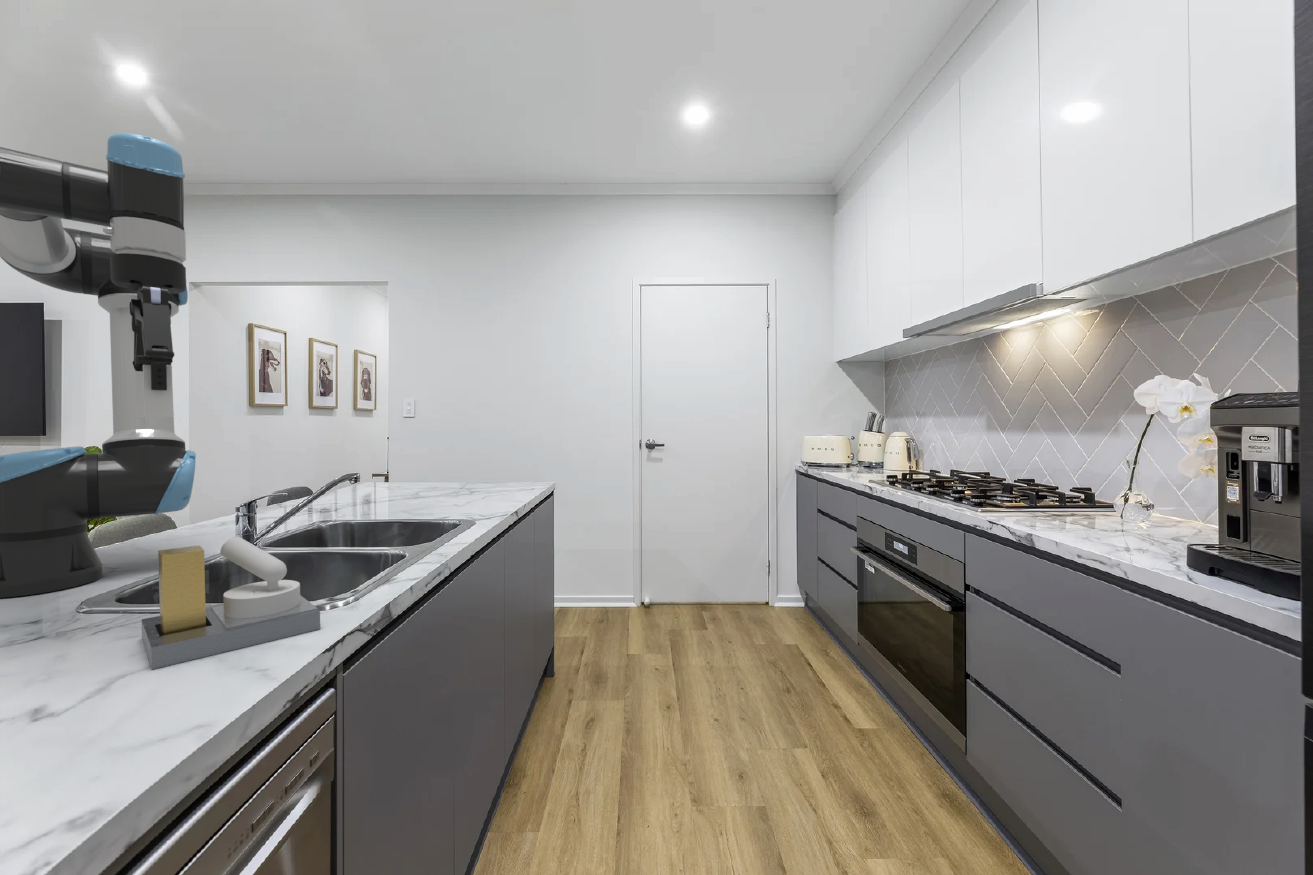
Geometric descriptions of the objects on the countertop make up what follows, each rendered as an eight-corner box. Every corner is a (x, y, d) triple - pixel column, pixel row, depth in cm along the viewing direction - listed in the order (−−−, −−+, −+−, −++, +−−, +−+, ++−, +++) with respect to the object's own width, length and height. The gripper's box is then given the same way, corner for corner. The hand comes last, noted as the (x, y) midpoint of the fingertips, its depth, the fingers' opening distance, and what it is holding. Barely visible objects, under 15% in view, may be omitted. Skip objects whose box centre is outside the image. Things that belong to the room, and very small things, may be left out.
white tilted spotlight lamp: (255, 530, 82) (313, 533, 80) (256, 594, 82) (314, 599, 80) (196, 543, 73) (260, 546, 72) (198, 614, 74) (262, 620, 72)
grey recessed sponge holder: (141, 638, 72) (141, 618, 72) (293, 606, 85) (293, 589, 85) (151, 669, 63) (151, 646, 63) (320, 629, 76) (319, 610, 76)
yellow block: (160, 644, 70) (158, 550, 70) (201, 636, 73) (199, 545, 73) (164, 654, 68) (161, 555, 67) (206, 644, 71) (204, 550, 70)
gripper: (106, 270, 81) (110, 417, 82) (115, 230, 64) (120, 416, 64) (174, 280, 86) (177, 417, 87) (199, 245, 69) (203, 416, 70)
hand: (153, 417), depth 76 cm, fingers open, 13 cm apart
